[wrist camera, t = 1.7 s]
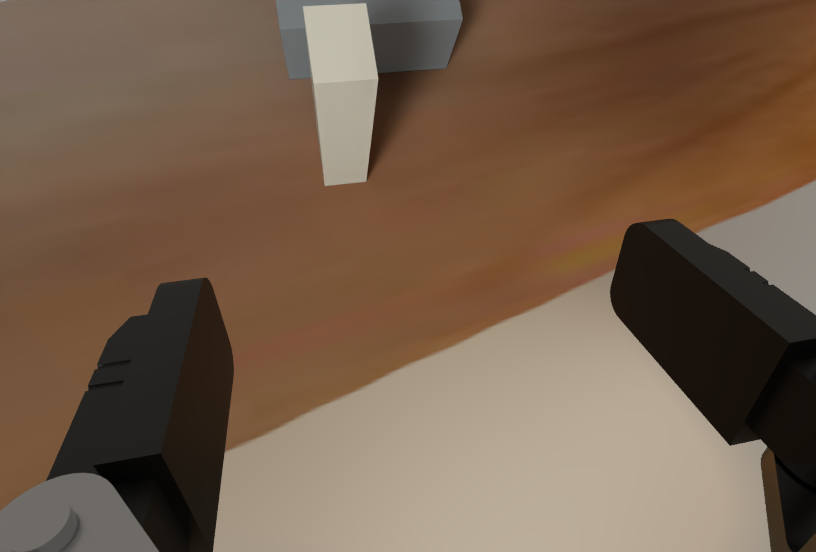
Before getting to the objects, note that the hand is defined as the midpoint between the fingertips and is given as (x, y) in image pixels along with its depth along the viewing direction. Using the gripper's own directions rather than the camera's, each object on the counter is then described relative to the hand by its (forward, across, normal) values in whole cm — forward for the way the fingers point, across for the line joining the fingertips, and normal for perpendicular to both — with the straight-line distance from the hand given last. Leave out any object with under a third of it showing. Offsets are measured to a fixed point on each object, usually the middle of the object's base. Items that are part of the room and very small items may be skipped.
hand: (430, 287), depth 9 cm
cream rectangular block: (+27, 0, +8) cm, 28 cm away
